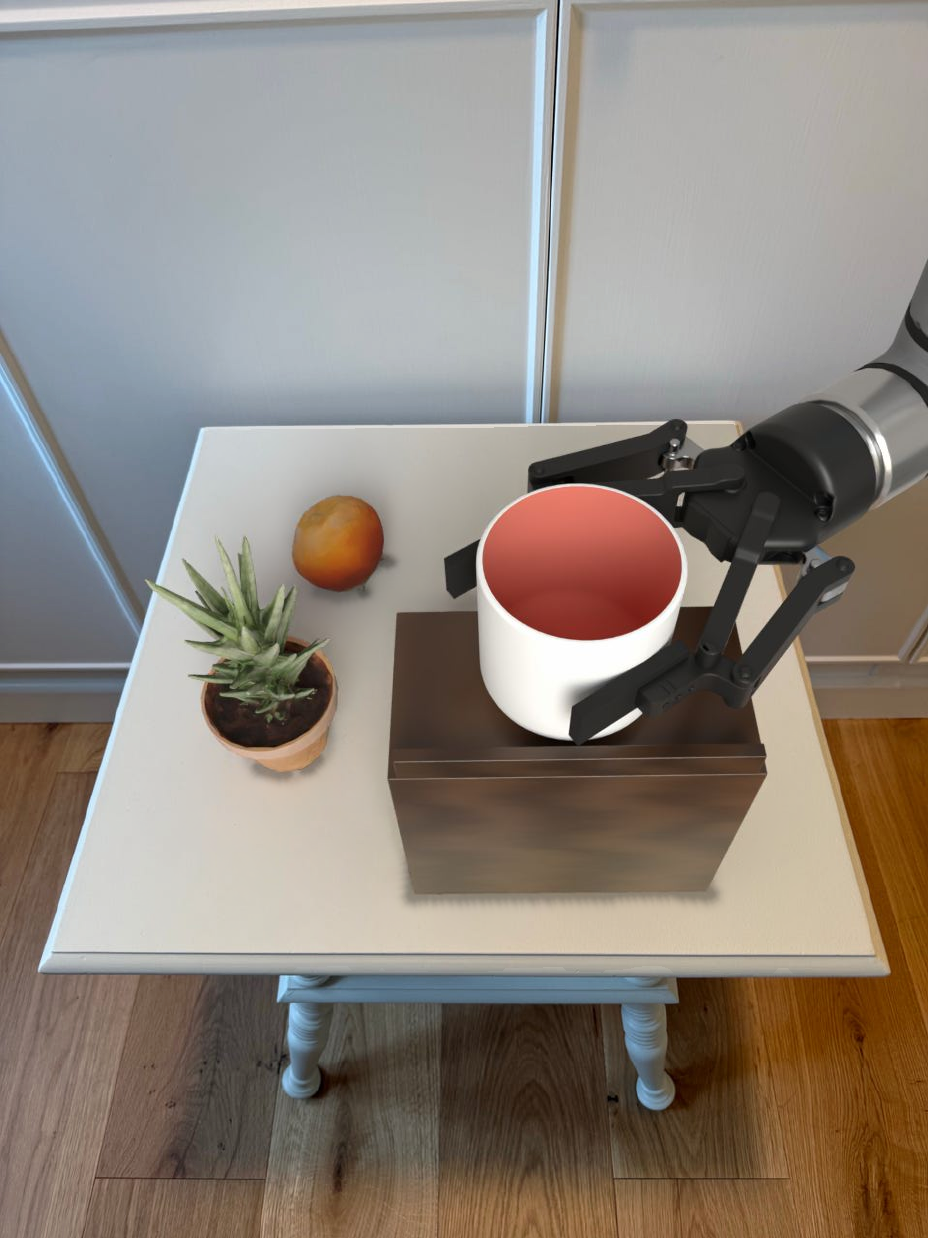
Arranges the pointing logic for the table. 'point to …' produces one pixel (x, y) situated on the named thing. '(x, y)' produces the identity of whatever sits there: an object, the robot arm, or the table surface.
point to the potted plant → (259, 670)
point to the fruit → (338, 543)
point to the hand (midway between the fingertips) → (508, 648)
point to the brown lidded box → (559, 779)
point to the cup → (573, 599)
